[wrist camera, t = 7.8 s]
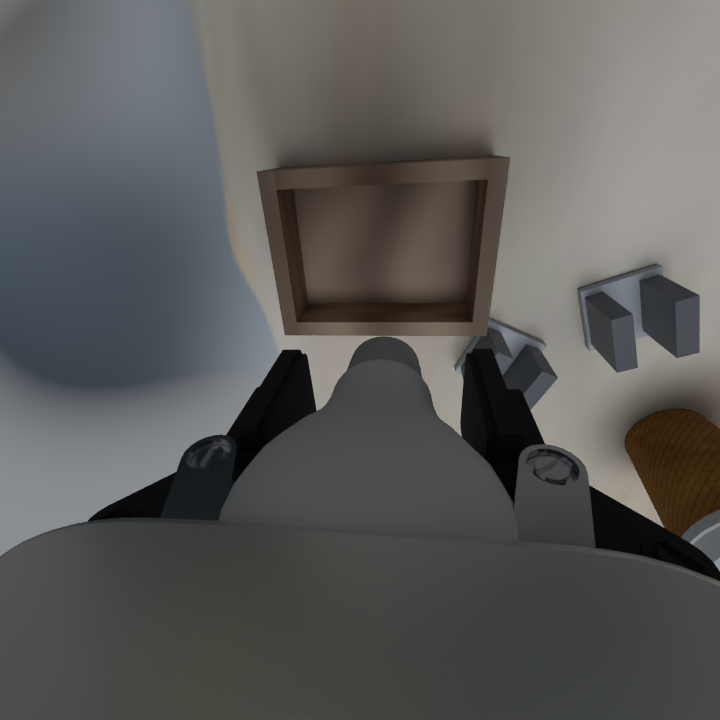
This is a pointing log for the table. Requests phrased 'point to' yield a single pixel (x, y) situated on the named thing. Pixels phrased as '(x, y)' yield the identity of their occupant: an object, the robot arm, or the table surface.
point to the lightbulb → (375, 462)
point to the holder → (386, 245)
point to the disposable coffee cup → (681, 474)
